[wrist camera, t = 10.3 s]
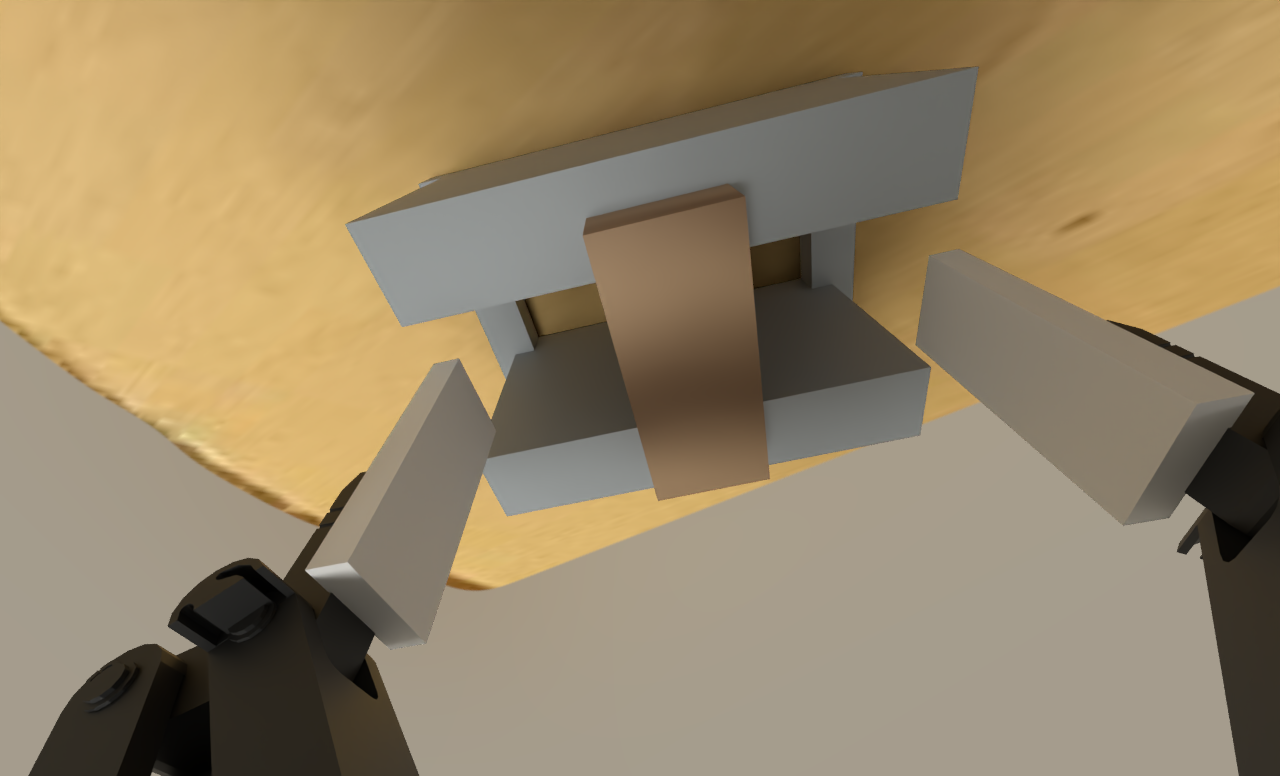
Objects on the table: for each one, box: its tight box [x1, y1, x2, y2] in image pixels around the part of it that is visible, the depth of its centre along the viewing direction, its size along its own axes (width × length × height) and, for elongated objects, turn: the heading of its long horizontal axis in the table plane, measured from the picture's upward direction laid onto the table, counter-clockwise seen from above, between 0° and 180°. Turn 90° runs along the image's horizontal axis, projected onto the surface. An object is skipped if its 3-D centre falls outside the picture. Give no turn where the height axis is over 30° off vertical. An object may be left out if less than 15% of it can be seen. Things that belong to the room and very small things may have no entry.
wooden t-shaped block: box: [583, 184, 770, 501], centre depth 17 cm, size 9×4×10 cm, turn 12°
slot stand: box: [345, 66, 979, 516], centre depth 18 cm, size 11×18×10 cm, turn 102°
